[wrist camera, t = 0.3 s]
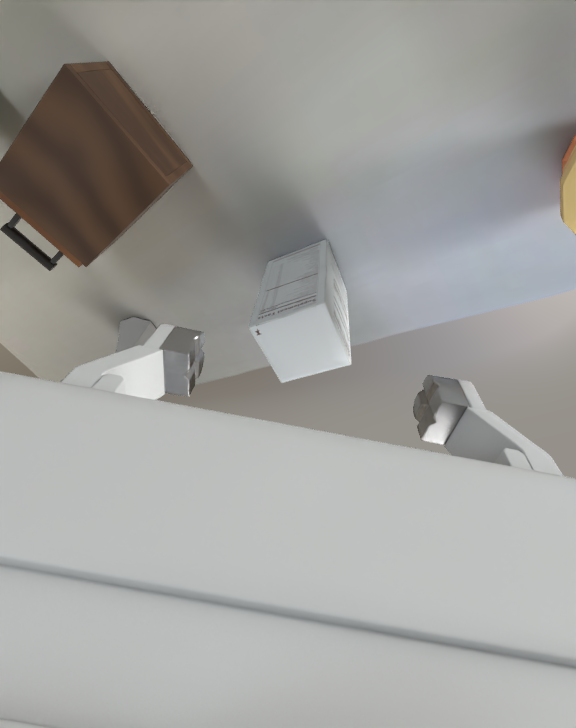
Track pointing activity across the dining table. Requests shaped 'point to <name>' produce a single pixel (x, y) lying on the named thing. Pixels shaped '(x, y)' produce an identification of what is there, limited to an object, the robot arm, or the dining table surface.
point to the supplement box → (303, 314)
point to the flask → (134, 333)
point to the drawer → (27, 244)
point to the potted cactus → (569, 187)
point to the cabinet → (89, 160)
